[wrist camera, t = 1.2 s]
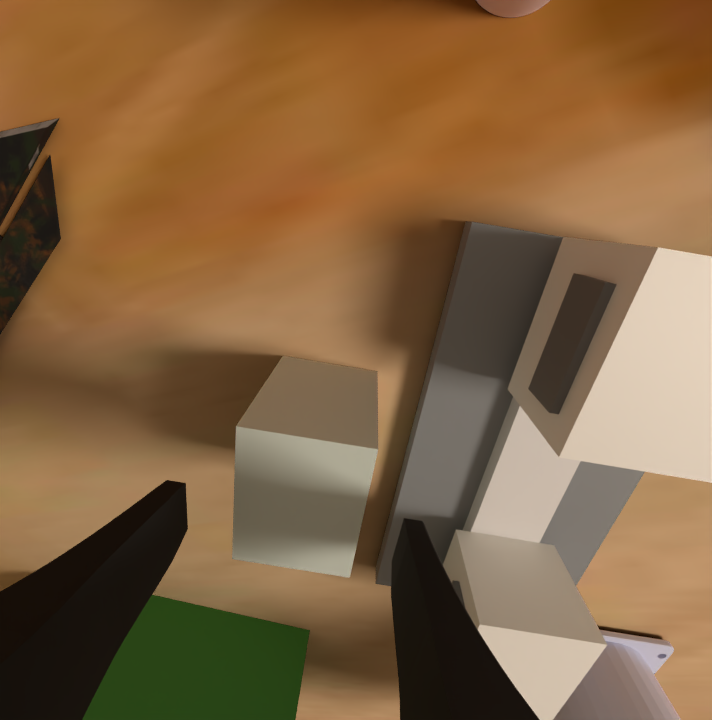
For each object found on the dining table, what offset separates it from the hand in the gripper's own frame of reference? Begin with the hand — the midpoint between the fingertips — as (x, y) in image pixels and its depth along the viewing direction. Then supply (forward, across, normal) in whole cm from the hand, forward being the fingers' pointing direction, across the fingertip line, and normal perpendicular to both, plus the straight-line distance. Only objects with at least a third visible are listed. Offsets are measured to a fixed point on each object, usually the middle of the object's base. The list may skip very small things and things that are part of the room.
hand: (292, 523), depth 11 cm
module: (+7, 0, 0) cm, 7 cm away
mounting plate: (+6, -10, 0) cm, 12 cm away
